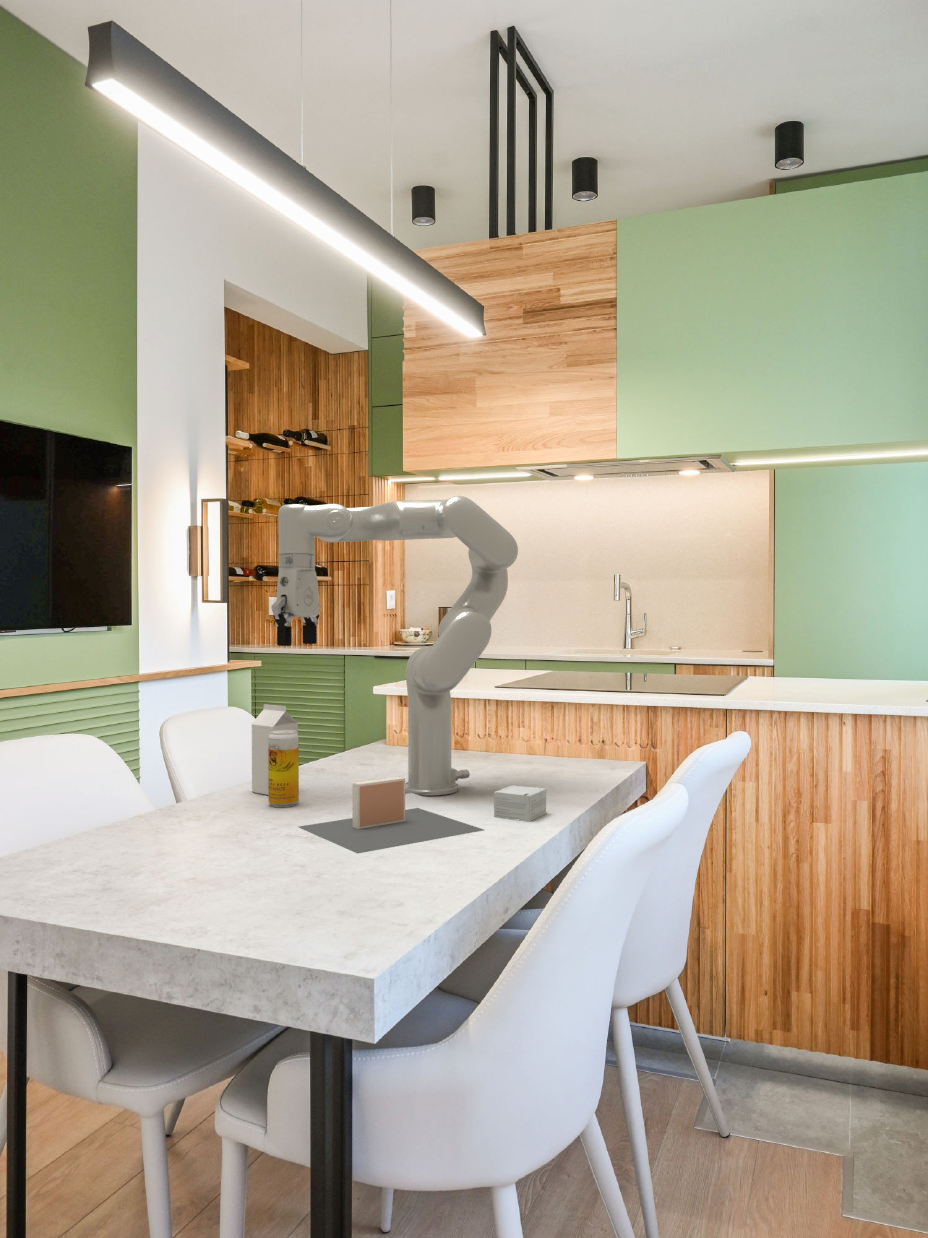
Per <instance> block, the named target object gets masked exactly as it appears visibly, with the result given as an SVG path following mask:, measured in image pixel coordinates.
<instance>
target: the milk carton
mask: <svg viewBox="0 0 928 1238" xmlns="http://www.w3.org/2000/svg"><path fill="white" fill-rule="evenodd" d="M275 730H295V731H297V735H298V736H299V724H298V721H297V720H296V719H295V718H293V717H292V716H291V715H290V713H289V712H288V711H287V705H286V706H285V705H276V704H267V703H266V704H265V703H264V704H263V710H261V712H260V713H259V714H258V715H257V717H256V718H254V720H253V722H252V723H251V792H252V793H255V794H256V793H257V794H262V795H268V737H269V735H270V732H271V731H275Z"/></svg>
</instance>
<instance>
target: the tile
mask: <svg viewBox="0 0 928 1238" xmlns="http://www.w3.org/2000/svg"><path fill="white" fill-rule="evenodd" d="M405 783H406V778H405V777H401V776H394V777H386V778H379V779H372V780H371V779H370V780H365V781H364V780H363V781H355V782H352V784H351V785H352V788H351V789H352V790H351V791H352V795H351V796H352V818H353V827H354V828H357V829H361V828H367V827H373V826H379V825H385V824H391V823H397V822H403V821H405V810H406V793H405Z"/></svg>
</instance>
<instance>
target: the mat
mask: <svg viewBox="0 0 928 1238" xmlns="http://www.w3.org/2000/svg"><path fill="white" fill-rule="evenodd" d="M298 828H300V829H301V830H304V831H306V832H308V833H310V834H313V835H314V836H317V837H320V838H321V839H323V840H325V841H328V842H331V843H332V844H335V845H337V846H339V847H342V848H344V849H346V850H348V851H351V852H353V853H355V854H362V853H367V852H374V851H378V850H384V849H389V848H395V847H401V846H405V845H406V846H407V845H410V844H417V843H423V842H428V841H433V840H439V839H444V838H450V837H455V836H460V835H465V834H470V833H471V834H472V833H477V832H482V831H485V829H484V828H481V827H477V826H476V825H475V826H474V825H471V824H468V823H466V822H462V821H458V820H456V819H453V818H450V817H447V816H444V815H442V814H441V815H440V814H438V813H434V812H431V811H429V810H425V809H423V808H419V807H415V808H409V809H405V821H403V822H397V823H391V824H385V825H379V826H373V827H367V828H361V829H357V828H354V827H353V817H351V818H346V819H345V818H344V819H338V820H332V821H325V822H319V823H313V824H305V825H300V826H298Z"/></svg>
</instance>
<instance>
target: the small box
mask: <svg viewBox="0 0 928 1238" xmlns="http://www.w3.org/2000/svg"><path fill="white" fill-rule="evenodd" d="M493 812H494V813H493V814H494V815H493V817H494V818H498V817H499V818H500V819H506V818H509V819H508V820H514V819H519V820H518V821H521V820H524V821H523V822H532V821H533V819H534V820H536V819H538V818H540V817H542V816H544V815H546V814H547V789H546V788H542V787H534V786H533V787H532V786H523V785H513V784H511V785H510V786H507V787H504V788H502V789H499V790H496V791H494V792H493ZM499 818H498V819H499ZM535 818H536V819H535ZM531 820H532V821H531Z"/></svg>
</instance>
